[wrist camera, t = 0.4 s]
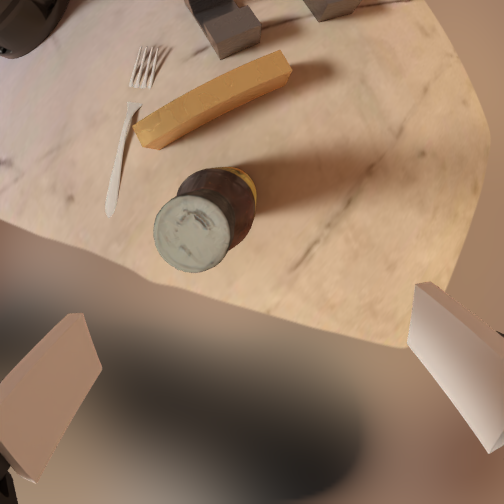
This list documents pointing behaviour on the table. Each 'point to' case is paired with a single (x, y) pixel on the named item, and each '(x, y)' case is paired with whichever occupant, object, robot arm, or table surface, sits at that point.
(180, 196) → the sauce bottle
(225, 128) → the table surface
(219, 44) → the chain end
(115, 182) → the fork
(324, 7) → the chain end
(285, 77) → the link bar
